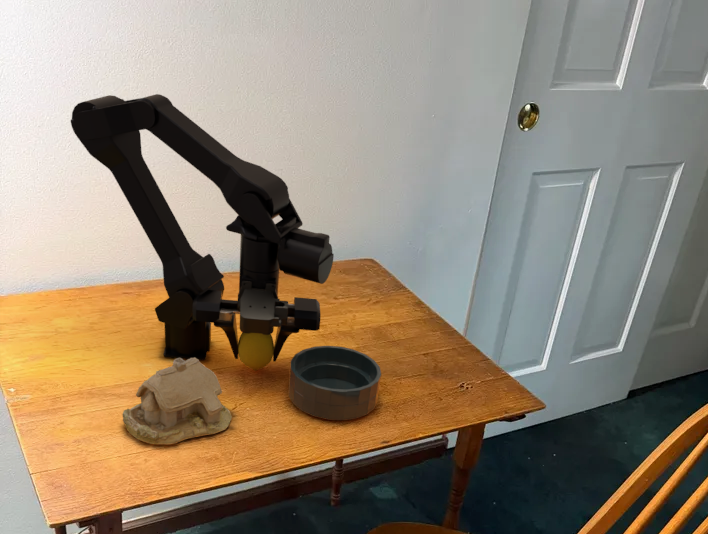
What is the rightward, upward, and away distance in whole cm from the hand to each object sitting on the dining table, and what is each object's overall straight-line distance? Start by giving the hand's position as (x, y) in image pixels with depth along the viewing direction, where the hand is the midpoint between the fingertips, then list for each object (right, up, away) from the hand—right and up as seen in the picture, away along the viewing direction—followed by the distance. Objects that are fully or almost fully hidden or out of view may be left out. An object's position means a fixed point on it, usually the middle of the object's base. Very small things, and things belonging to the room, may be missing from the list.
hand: (255, 359), depth 124 cm
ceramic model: (-8, -11, -13) cm, 19 cm away
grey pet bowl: (+12, -6, -2) cm, 14 cm away
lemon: (0, -2, +1) cm, 2 cm away
